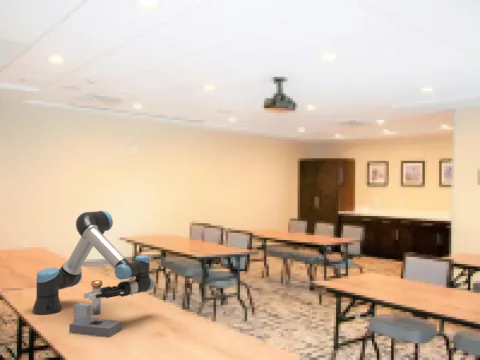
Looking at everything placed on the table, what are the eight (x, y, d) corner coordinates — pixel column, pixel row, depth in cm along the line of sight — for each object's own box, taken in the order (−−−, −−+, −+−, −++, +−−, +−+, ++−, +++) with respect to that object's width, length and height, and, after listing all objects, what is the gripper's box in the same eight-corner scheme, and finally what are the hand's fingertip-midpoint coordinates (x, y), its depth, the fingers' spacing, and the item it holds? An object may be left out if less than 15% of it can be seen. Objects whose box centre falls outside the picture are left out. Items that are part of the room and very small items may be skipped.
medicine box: (91, 320, 235) (91, 304, 235) (86, 322, 230) (86, 306, 231) (78, 319, 237) (79, 302, 237) (73, 321, 233) (73, 305, 233)
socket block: (69, 332, 215) (69, 324, 215) (84, 325, 227) (84, 317, 227) (109, 337, 209) (109, 328, 209) (122, 329, 221) (122, 321, 221)
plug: (88, 314, 216) (89, 282, 216) (94, 311, 221) (95, 280, 221) (98, 315, 215) (98, 282, 215) (104, 312, 220) (104, 280, 220)
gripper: (137, 298, 226) (96, 307, 208) (117, 292, 237) (77, 301, 219) (137, 283, 226) (96, 291, 208) (117, 278, 237) (77, 286, 219)
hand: (86, 296), depth 214 cm, fingers closed on plug, 4 cm apart
